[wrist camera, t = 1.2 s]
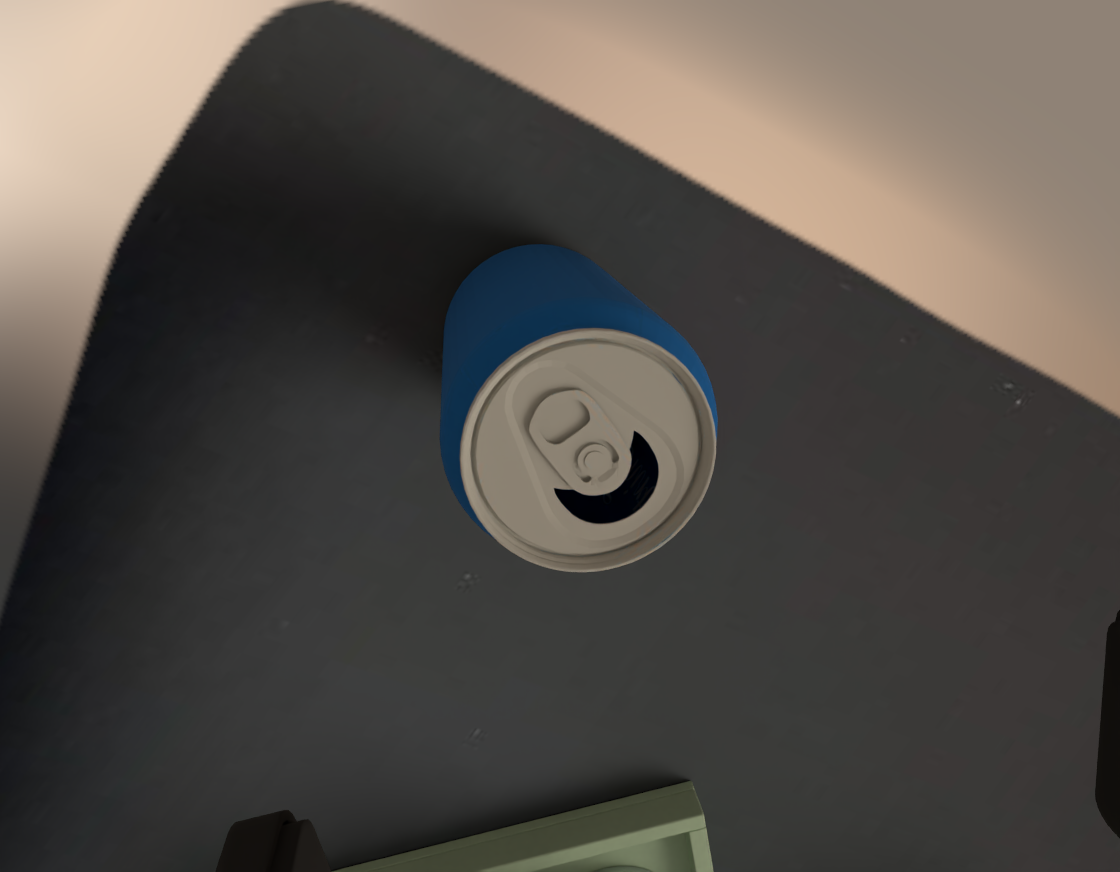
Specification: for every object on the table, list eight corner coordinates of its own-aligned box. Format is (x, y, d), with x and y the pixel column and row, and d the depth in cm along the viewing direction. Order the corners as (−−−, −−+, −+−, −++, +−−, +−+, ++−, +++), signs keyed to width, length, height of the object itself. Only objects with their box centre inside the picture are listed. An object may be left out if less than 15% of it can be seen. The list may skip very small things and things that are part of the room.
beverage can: (517, 453, 30) (557, 639, 19) (405, 317, 28) (374, 434, 17) (659, 350, 29) (788, 479, 18) (556, 202, 27) (630, 243, 16)
